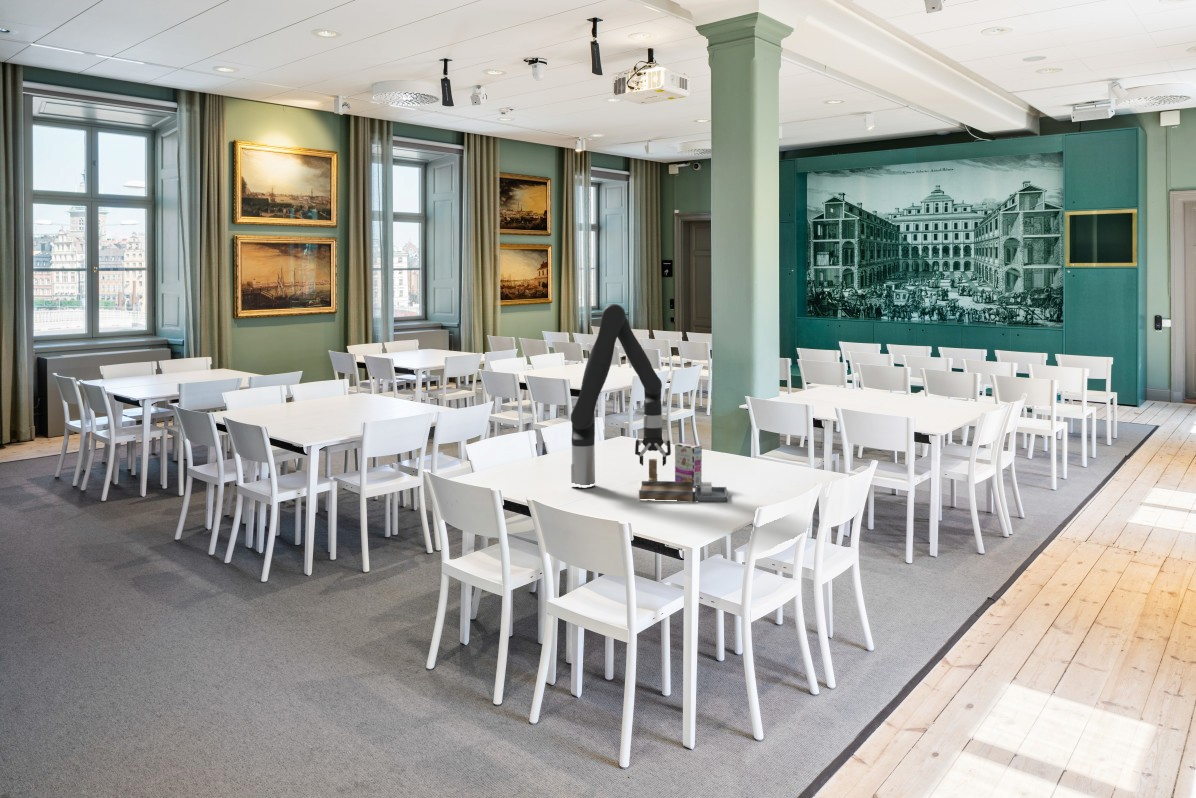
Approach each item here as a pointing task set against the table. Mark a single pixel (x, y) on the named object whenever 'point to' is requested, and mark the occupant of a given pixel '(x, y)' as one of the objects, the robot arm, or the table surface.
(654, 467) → the tan stepped block
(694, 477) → the candy bar box
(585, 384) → the robot arm
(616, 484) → the table surface
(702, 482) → the grey cube
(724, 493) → the tray
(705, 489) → the gray cube
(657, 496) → the slot board
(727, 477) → the table surface
